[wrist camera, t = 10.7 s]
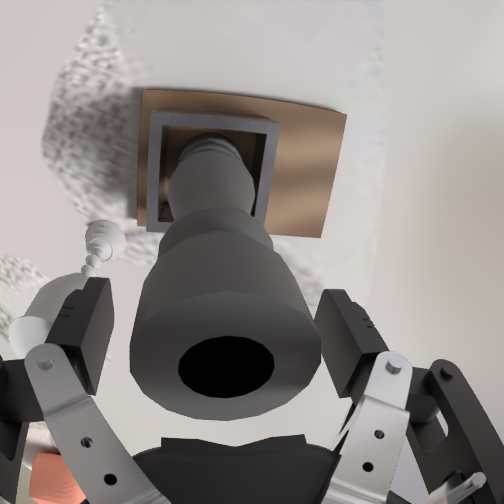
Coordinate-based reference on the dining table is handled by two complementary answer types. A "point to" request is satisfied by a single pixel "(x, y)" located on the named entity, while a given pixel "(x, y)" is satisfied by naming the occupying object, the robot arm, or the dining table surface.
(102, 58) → the dining table surface
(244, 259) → the candle holder
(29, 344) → the chalice
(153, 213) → the collar
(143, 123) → the keeper plate
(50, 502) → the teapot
